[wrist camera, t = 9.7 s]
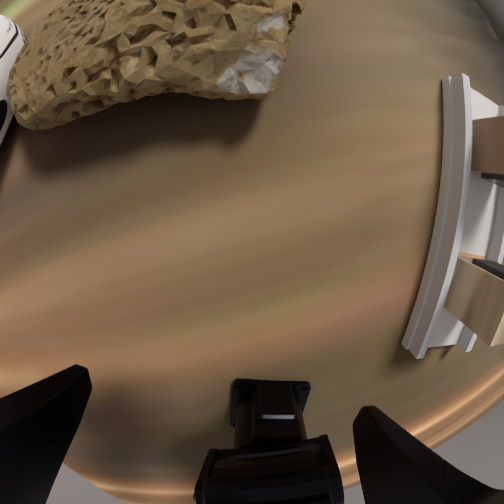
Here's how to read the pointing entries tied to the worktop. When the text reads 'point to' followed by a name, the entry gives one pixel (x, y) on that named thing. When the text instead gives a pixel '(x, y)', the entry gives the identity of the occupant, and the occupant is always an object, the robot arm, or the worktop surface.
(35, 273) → the worktop surface
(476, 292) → the beige block
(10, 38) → the milk container
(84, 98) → the sponge
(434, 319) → the rail
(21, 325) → the worktop surface
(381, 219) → the worktop surface
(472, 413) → the worktop surface
